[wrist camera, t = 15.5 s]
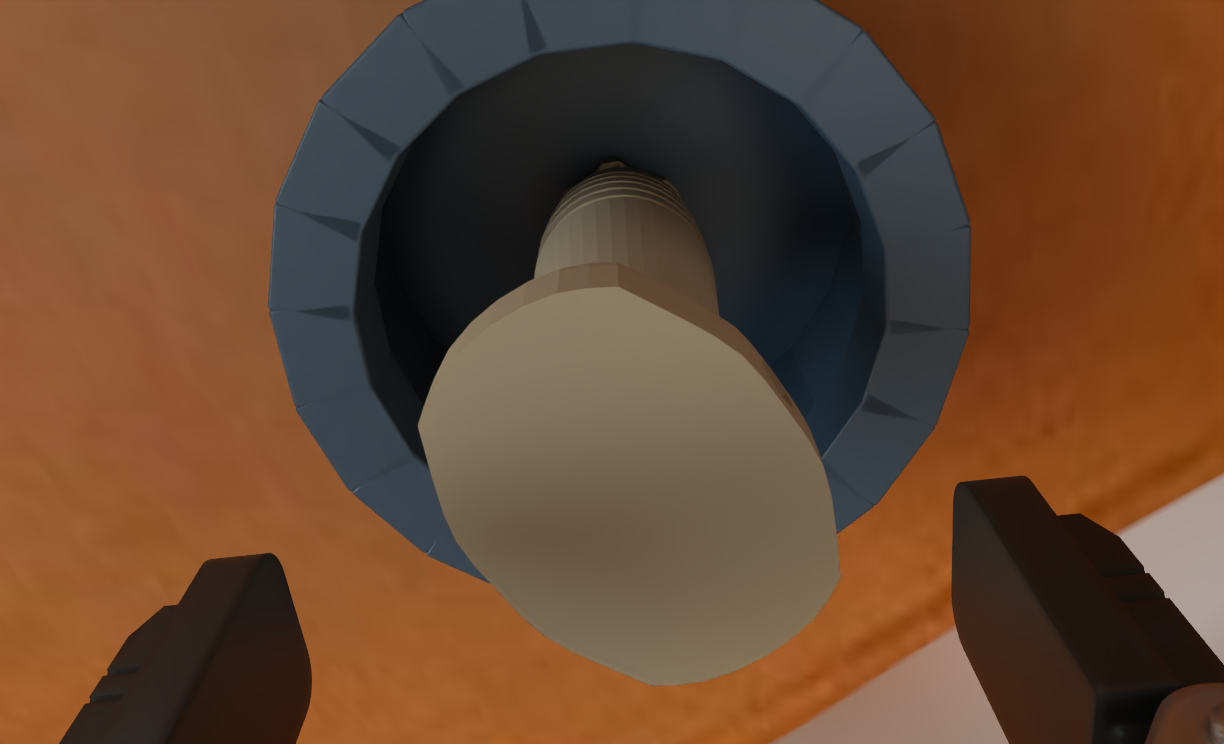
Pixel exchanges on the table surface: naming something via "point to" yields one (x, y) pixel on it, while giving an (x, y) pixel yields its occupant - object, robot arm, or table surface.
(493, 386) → the handle
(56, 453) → the table surface
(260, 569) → the robot arm
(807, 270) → the jar
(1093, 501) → the table surface
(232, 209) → the table surface
